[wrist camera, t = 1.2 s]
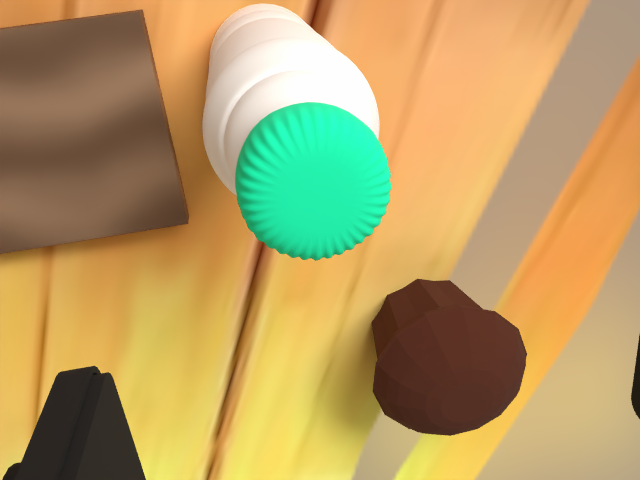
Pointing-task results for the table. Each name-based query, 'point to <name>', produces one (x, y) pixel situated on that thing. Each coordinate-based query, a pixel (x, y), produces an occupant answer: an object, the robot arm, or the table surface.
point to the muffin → (444, 359)
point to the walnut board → (83, 134)
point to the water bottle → (294, 134)
